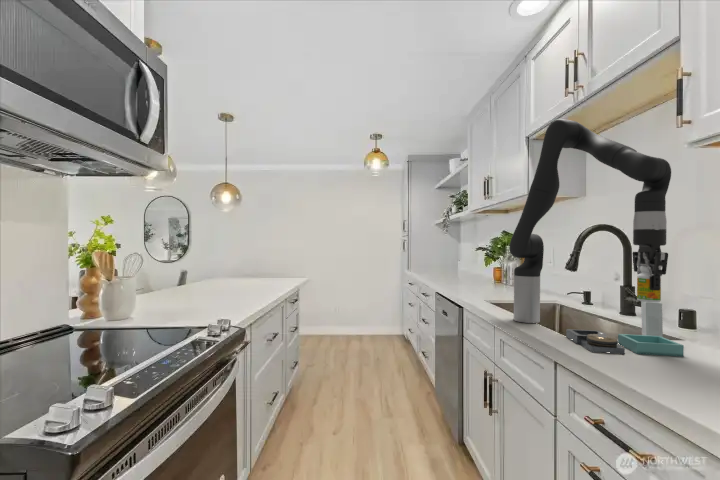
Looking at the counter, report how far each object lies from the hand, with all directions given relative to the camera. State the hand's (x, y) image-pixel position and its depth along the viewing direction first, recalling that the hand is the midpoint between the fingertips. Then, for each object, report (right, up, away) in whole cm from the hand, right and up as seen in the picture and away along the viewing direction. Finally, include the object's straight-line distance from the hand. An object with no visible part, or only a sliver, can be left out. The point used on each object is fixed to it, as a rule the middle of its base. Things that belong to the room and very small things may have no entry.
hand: (648, 288), depth 111 cm
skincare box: (+9, -18, +11) cm, 23 cm away
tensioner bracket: (-13, -17, +5) cm, 22 cm away
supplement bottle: (0, -4, 0) cm, 4 cm away
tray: (0, -17, 0) cm, 17 cm away
